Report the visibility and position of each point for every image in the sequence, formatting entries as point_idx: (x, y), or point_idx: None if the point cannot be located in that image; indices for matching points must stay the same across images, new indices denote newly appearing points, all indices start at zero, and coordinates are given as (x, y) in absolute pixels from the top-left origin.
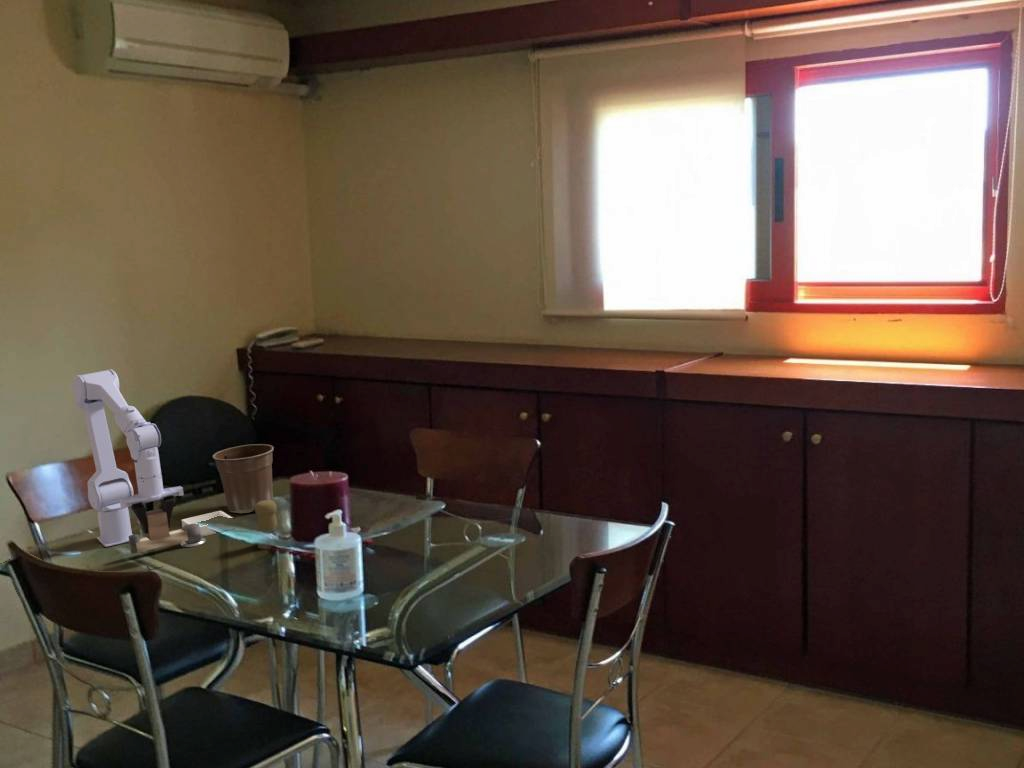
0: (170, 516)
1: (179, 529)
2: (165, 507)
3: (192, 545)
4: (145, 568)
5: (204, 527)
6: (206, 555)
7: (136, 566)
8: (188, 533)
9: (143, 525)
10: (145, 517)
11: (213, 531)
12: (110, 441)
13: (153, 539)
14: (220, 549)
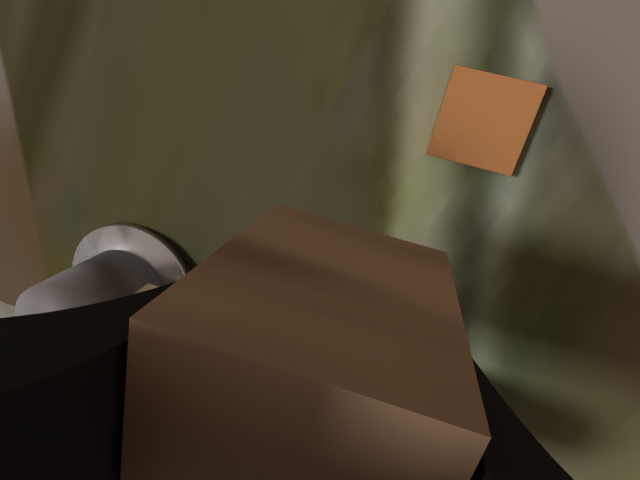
0: (126, 296)
1: None
2: (51, 427)
3: (156, 238)
4: (536, 155)
5: None
6: (169, 8)
7: (535, 248)
8: (115, 294)
9: (502, 404)
10: (498, 470)
11: (11, 314)
12: None
13: (422, 249)
14: (71, 38)
